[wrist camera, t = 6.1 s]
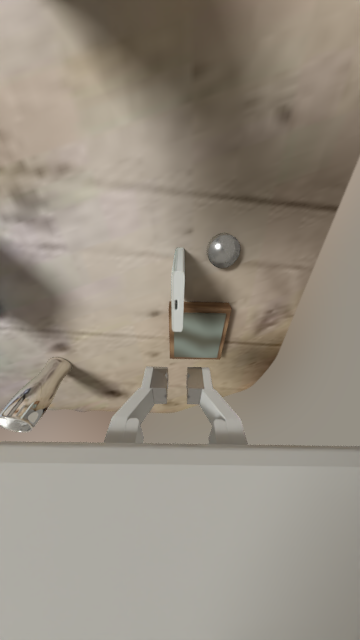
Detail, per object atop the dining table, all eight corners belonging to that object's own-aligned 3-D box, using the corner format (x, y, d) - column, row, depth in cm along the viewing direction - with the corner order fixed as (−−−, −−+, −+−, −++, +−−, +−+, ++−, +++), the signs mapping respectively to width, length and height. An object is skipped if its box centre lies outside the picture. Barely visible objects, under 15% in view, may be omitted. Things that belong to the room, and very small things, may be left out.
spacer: (208, 232, 26) (210, 234, 25) (239, 233, 26) (243, 235, 25) (205, 264, 29) (206, 267, 27) (233, 264, 29) (236, 268, 27)
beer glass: (51, 351, 41) (-5, 412, 29) (78, 363, 44) (37, 424, 32) (43, 365, 44) (-10, 425, 32) (68, 376, 47) (28, 435, 35)
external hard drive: (174, 292, 32) (171, 331, 22) (174, 247, 27) (170, 270, 17) (182, 292, 32) (183, 332, 22) (184, 247, 27) (186, 271, 17)
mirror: (169, 301, 33) (168, 309, 31) (228, 302, 33) (232, 310, 31) (170, 350, 41) (169, 360, 39) (218, 351, 41) (220, 360, 39)
